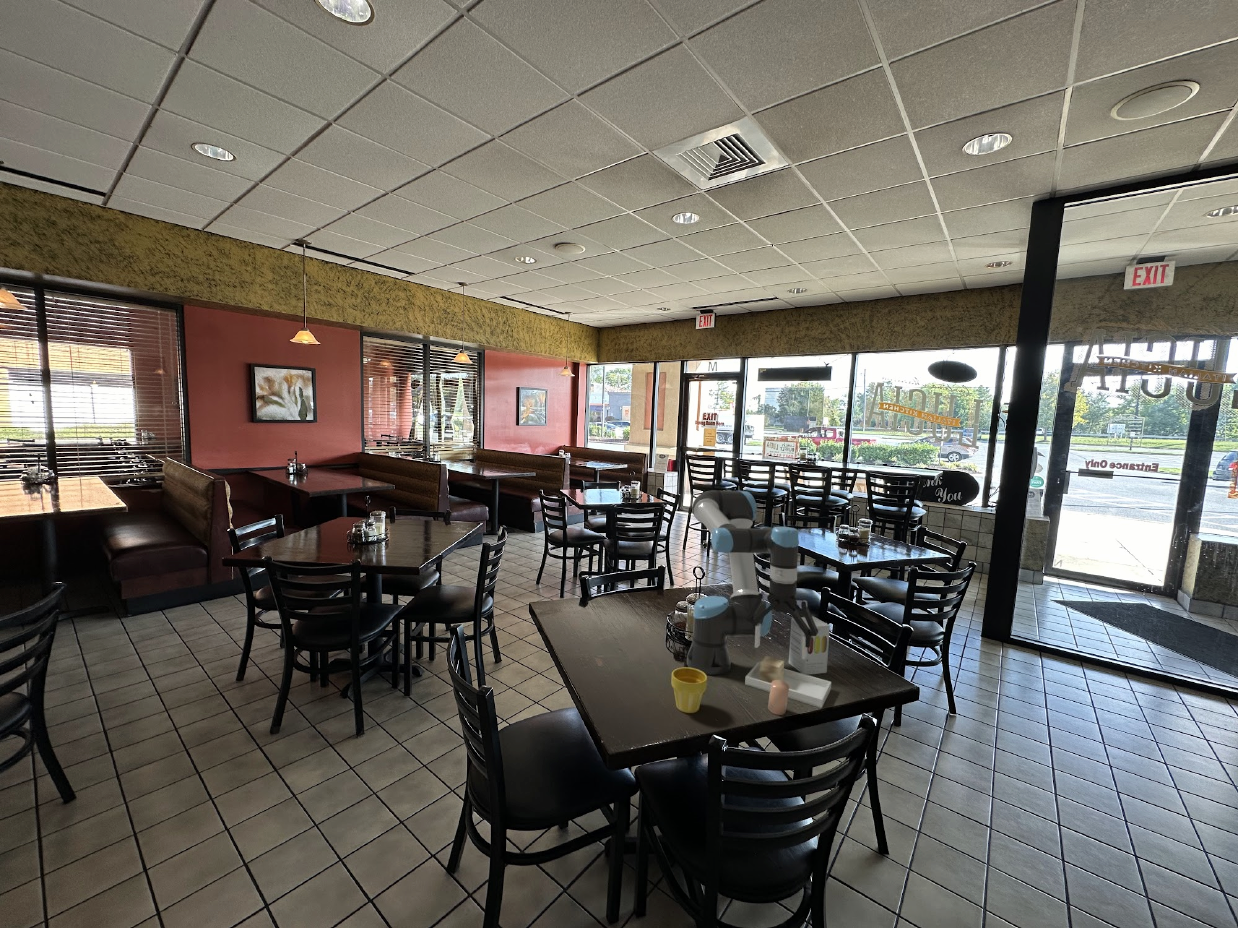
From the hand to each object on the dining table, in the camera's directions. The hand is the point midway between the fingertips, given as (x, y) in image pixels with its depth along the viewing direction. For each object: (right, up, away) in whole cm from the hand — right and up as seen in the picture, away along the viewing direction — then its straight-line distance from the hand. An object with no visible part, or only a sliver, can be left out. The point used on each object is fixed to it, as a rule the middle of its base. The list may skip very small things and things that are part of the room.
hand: (780, 651), depth 149 cm
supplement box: (+18, -16, +28) cm, 37 cm away
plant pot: (-27, -17, +1) cm, 32 cm away
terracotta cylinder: (-1, -17, 0) cm, 17 cm away
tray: (+7, -17, +14) cm, 23 cm away
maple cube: (+3, -16, +18) cm, 24 cm away
